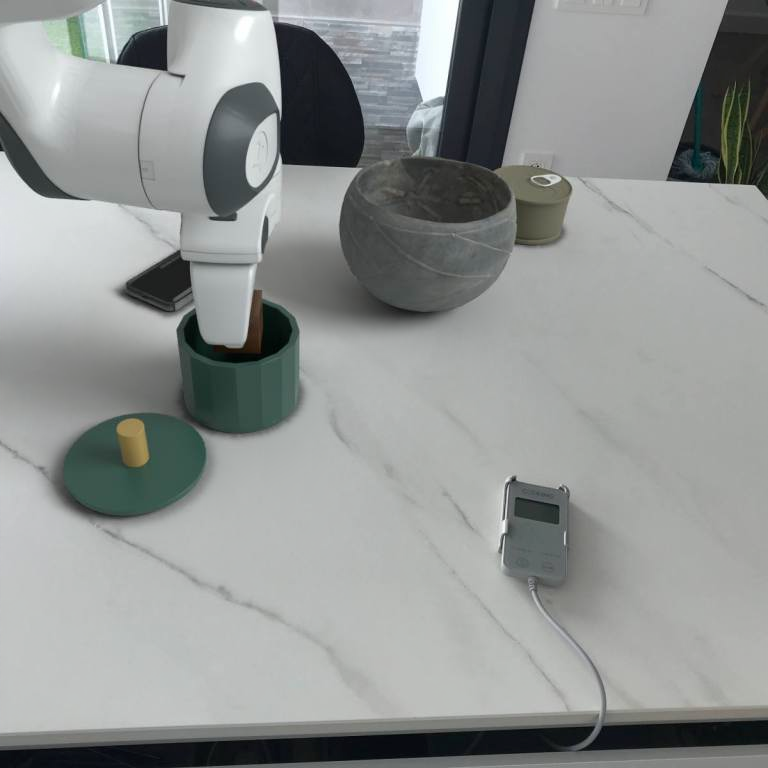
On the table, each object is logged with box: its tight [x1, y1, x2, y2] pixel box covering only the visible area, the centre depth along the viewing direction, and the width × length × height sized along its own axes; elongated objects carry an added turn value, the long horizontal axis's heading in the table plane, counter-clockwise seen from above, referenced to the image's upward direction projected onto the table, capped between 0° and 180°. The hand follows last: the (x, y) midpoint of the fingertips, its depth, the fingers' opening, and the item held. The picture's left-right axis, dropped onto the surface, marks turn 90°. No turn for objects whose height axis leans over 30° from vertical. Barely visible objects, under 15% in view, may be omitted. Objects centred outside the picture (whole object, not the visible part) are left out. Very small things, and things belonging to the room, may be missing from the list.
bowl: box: [338, 155, 517, 313], centre depth 95 cm, size 21×21×15 cm
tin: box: [175, 298, 301, 434], centre depth 79 cm, size 12×12×8 cm
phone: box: [125, 249, 194, 312], centre depth 98 cm, size 8×1×15 cm
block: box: [213, 289, 263, 354], centre depth 76 cm, size 4×4×4 cm
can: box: [492, 164, 573, 246], centre depth 114 cm, size 12×12×7 cm
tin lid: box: [62, 412, 208, 516], centre depth 71 cm, size 13×13×5 cm
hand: (237, 325), depth 76 cm, fingers closed on block, 4 cm apart
